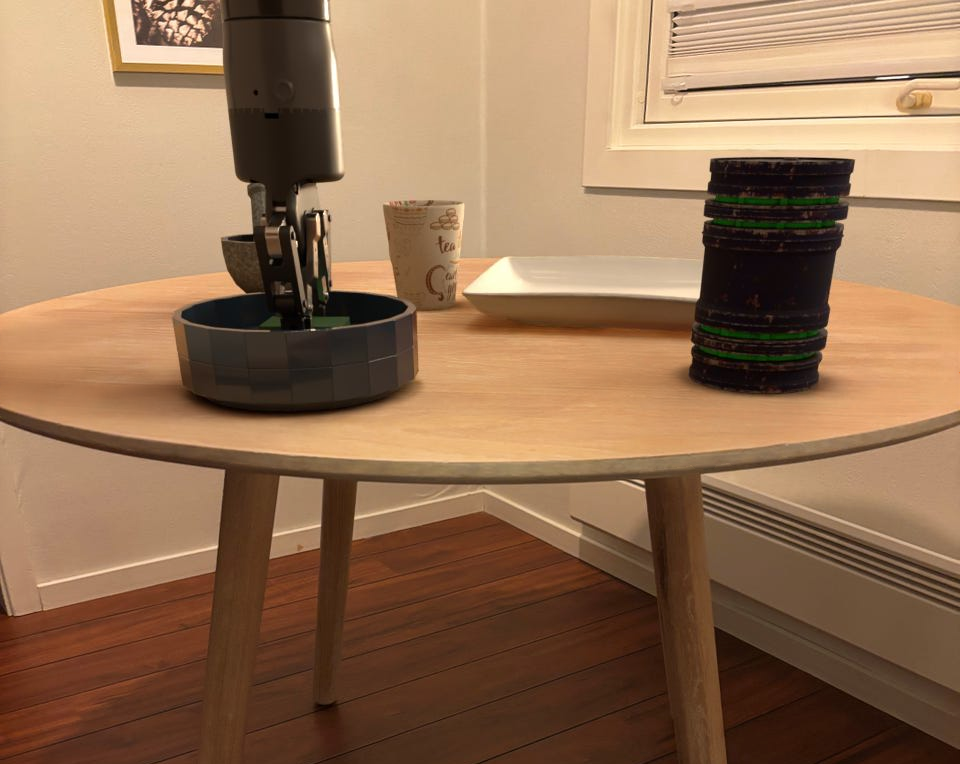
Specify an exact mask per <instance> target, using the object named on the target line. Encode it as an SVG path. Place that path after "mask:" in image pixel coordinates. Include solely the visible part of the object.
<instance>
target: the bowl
mask: <svg viewBox="0 0 960 764" xmlns="http://www.w3.org/2000/svg"><path fill="white" fill-rule="evenodd" d="M327 293H328V295H329V298H328V301H327V304H322V306H325V311H326V317H349V318H350V326H343V327H334V328H325V329H305V330H259V326H260V325H261V324H263V323H264V322H265V321H267V320H268V319H270V318H271V317H273V316H276V313H270V312H269V310H268V307H267V300H266V295H265V292H259V293H248V294H246V293H238V294H232V295H225V296H219V297H212V298H207V299H203V300H199V301H195V302H191V303H188V304H185V305H183V306H181V307H179V308H177V309H175V310H174V311H173V312H172V317H171V319H172V321H171V322H172V326H173V327H172V328H173V331H174V332H173V334H174V340H175V346H176V350H177V358H178V364H179V365H178V366H179V373H180V379H181V385H182V387H184V388H186V389H187V390H189V391H190V392H191V393H193V394H194V395H197V396H201V397H204V398H206V399H207V400H208V401H210V402H213V403H215V404H218V405H221V406H224V407H225V406H226V407H230V408H235V409H240V410H250V411H261V412H309V411H310V412H311V411H322V410H331V409H339V408H340V409H341V408H346V407H352V406H358V405H362V404H366V403H371V402H373V401H377V400H380V399H382V398H385V397H388V396H390V395H391V394H394V393H395V392H397V391H398V390H399V389H400V388H401V387H403V386H405V385H407V384H409V383H410V382H413V381H414V380H415V379H416V377H417V375H418V373H419V371H420V370H419V368H420V367H419V341H418V337H419V336H418V309H417V307H416V306H415V305H414V304H413V303H412V302H411V301H409V300H406V299H402V298H399V297H397V296H396V295H391V294H384V293H379V292H378V293H376V292H370V291H369V292H368V291H357V290H341V289H338V290H337V289H331V292H327ZM285 294H292V291H285Z"/></svg>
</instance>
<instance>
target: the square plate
mask: <svg viewBox="0 0 960 764" xmlns="http://www.w3.org/2000/svg"><path fill="white" fill-rule="evenodd" d="M703 260H704V259H694V258H693V259H692V258H680V257H679V258H678V257H661V256H638V255H637V256H635V255H555V256H554V255H552V256H551V255H549V256H547V255H546V256H545V255H544V256H543V255H542V256H504V257H502V258H500V259H499V260H498V261H495V262H494V263H493V264H492V265H490V266H489V267H487V269H486V270H484V271H483V272H482V273H481V274H480V275H478V276H477V277H476V278H475V279H474V280H473V281H471V283H469V284H468V285H467V286H466V287H465V288H464V289H463V290H462V291H461V295H462V296H463V297H464V298H465V299H466V300H467V302H469V304H470V305H471V306H472V307H473V308H474V309H475V310H476V311H478V312H479V313H481V314H483V315H486V316H487V317H491V318H498V319H506V320H507V321H509V322H511V323H514V324H515V323H516V324H520V325H528V326H534V327H557V328H559V327H560V328H587V329H588V328H592V329H596V328H597V329H620V330H621V329H622V330H623V329H625V330H643V331H659V332H660V331H662V332H692V325H693V324H694V323H696V321H695V320H694V316H695V306H696V302H697V300H698V299H699V298H700V289H701V279H702V269H703Z"/></svg>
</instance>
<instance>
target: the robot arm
mask: <svg viewBox="0 0 960 764" xmlns="http://www.w3.org/2000/svg"><path fill="white" fill-rule="evenodd" d="M219 8H220V16H221V22H222V23H221V28H222V31H221V32H222V68H223V79H224V88H225V97H226V104H227V105H226V106H227V113H228V114H227V115H228V121H229V122H228V123H229V132H230V140H231V148H232V156H233V165H234V174H235V176H236V178H237V179H238V180H239V181H240V182H242V183H247V184H250V183H261V184H263V185H264V186H265V190H266V193H265V213H262V214H261V226H254V232H253V231H252V234H253V238H254V241H255V246H256V251H257V256H258V261H259V266H260V271H261V275H262V280H263V285H264V290H265V295H266V300H267V307H268V310H269V312H270V313H276V316H277V317H281V318H280V323H281V330H305V329H313V319H312V317H326V311H325V306H322V304H327V301H328V298H329V295H328V293H327V292H331V290H332V287H333V280H332V219H333V218H332V214H331V212H330V210H329V209H321V202H320V197H319V190H318V186H317V184H324V183H325V184H326V183H334V182H338V181H341V180H342V179H343V178H344V177H345V174H346V168H345V165H346V164H345V154H344V152H345V151H344V150H345V149H344V139H343V121H342V106H341V105H342V104H341V91H340V90H341V89H340V77H339V76H340V75H339V64H338V63H339V62H338V57H337V52H336V47H335V42H334V36H333V35H334V34H333V26H332V24H331V22H332V12H331V0H219ZM287 283H291V288H292V294H285V285H286V284H287Z"/></svg>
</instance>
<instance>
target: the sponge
mask: <svg viewBox="0 0 960 764" xmlns="http://www.w3.org/2000/svg"><path fill="white" fill-rule="evenodd" d="M280 318H281V317H277V316H273V317H271V318H270V319H268V320H267V321H265V322H264V323H263V324H261V325H260V326H259V330H281V323H280ZM312 319H313V329H325V328H334V327H343V326H350V318H349V317H312Z"/></svg>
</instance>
